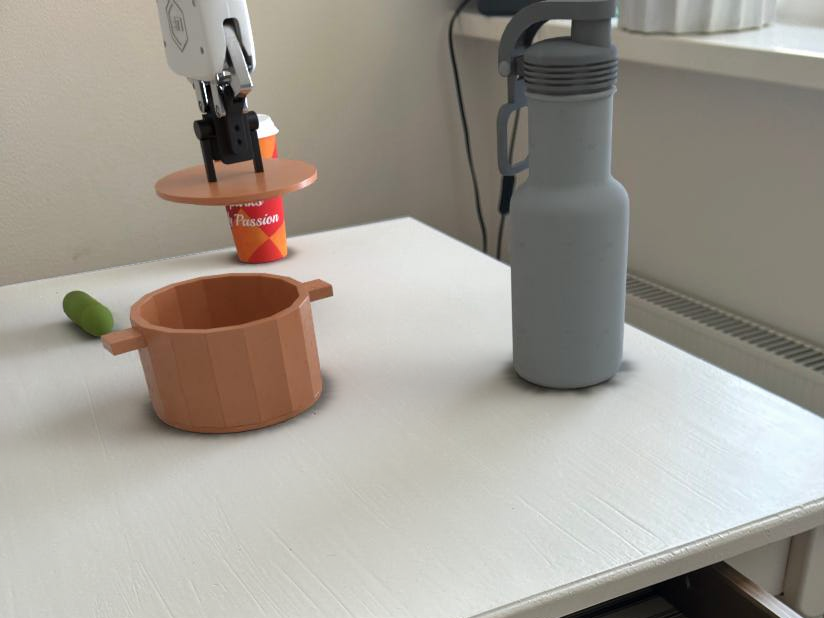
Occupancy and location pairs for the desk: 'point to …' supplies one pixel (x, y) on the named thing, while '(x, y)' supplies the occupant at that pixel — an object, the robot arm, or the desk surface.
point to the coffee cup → (260, 213)
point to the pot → (227, 350)
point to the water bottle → (565, 196)
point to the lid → (234, 175)
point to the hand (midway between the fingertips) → (232, 158)
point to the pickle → (88, 313)
